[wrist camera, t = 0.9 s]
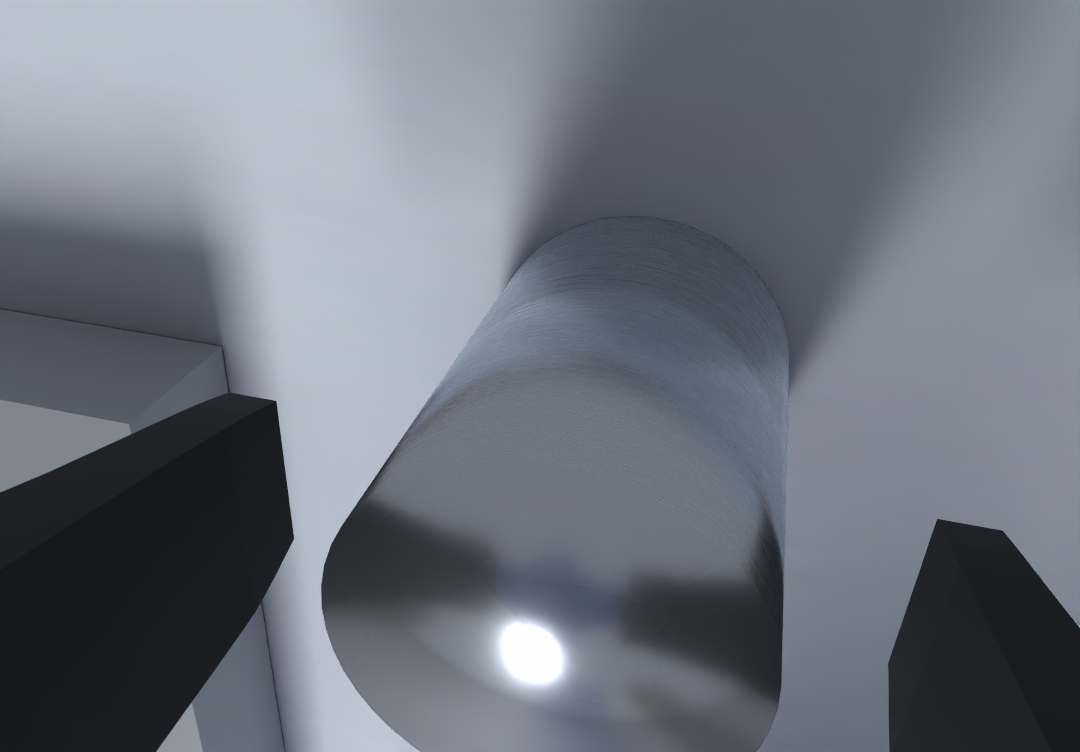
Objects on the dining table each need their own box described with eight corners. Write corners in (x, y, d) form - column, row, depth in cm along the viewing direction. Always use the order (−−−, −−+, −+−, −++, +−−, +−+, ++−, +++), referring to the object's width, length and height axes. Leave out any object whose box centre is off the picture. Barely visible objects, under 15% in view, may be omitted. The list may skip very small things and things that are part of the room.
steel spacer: (761, 500, 14) (740, 855, 9) (493, 452, 15) (337, 752, 10) (816, 237, 12) (827, 515, 7) (498, 198, 13) (300, 420, 8)
